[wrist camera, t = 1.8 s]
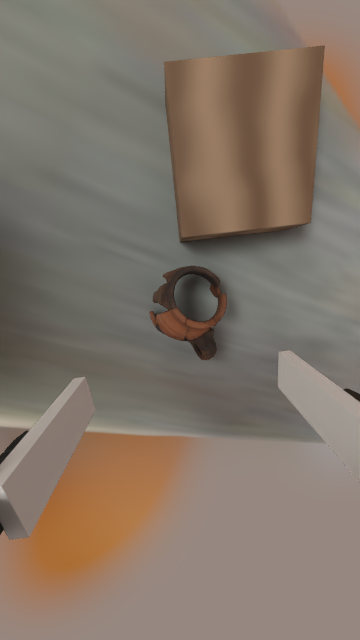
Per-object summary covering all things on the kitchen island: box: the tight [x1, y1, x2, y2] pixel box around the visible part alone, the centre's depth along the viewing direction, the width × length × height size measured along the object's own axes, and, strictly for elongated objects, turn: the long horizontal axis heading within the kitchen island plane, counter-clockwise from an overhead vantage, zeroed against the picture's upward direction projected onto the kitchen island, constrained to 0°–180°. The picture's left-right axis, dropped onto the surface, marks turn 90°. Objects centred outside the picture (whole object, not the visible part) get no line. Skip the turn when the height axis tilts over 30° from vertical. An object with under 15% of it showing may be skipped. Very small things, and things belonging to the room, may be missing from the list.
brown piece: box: [150, 266, 227, 360], centre depth 25 cm, size 12×10×8 cm
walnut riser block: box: [164, 46, 325, 242], centre depth 21 cm, size 14×14×5 cm
